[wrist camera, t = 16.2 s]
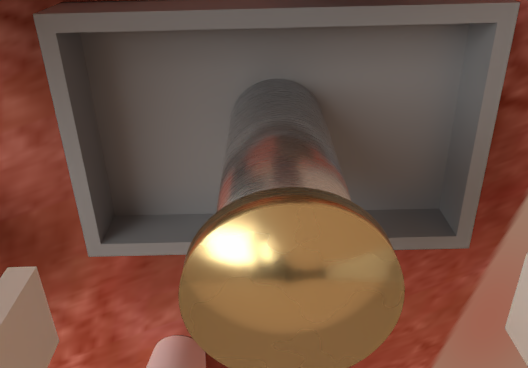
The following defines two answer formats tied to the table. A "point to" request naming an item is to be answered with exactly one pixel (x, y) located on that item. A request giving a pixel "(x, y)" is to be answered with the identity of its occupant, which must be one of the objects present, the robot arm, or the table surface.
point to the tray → (263, 68)
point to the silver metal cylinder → (287, 247)
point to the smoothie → (177, 353)
